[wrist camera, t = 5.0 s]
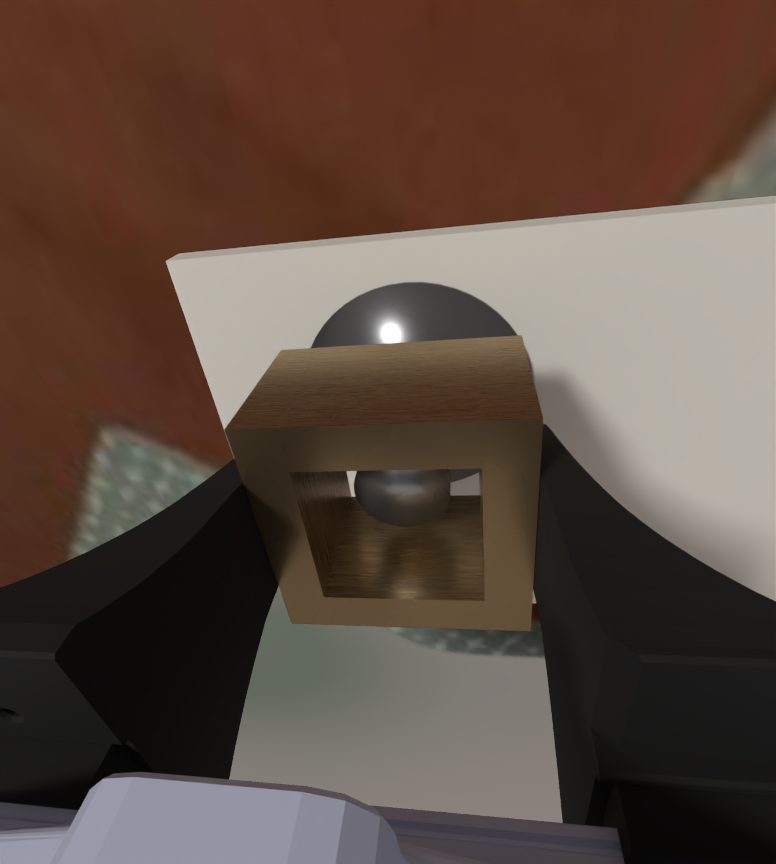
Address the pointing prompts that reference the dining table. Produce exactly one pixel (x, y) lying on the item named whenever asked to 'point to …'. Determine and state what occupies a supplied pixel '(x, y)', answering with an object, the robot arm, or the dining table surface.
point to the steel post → (397, 323)
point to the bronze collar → (396, 450)
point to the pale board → (567, 346)
